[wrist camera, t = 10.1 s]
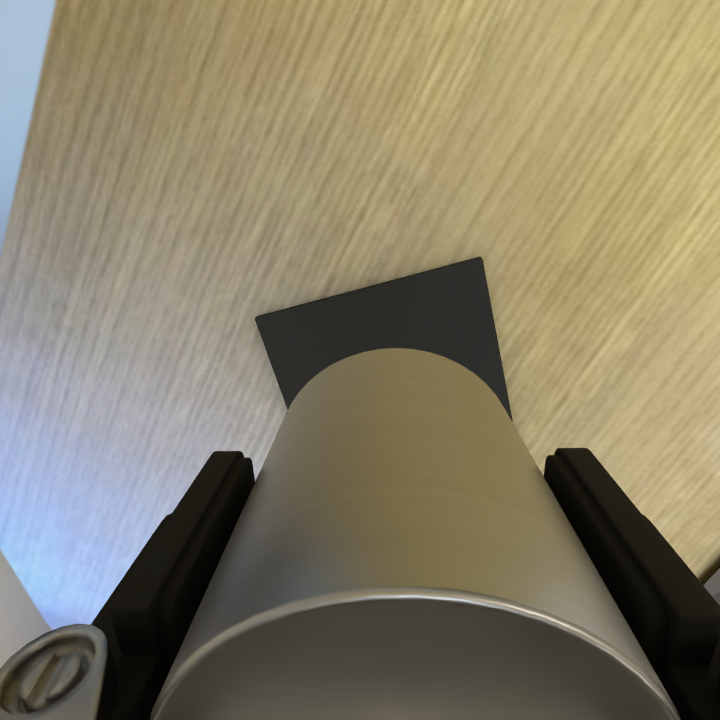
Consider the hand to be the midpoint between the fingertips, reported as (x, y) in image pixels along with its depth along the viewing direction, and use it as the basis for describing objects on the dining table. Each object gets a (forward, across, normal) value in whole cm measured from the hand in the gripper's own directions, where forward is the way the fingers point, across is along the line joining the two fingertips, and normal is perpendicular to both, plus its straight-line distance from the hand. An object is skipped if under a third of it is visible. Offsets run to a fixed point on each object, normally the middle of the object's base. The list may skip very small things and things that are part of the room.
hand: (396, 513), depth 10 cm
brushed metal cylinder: (+2, 0, 0) cm, 2 cm away
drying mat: (+19, 0, +6) cm, 20 cm away
